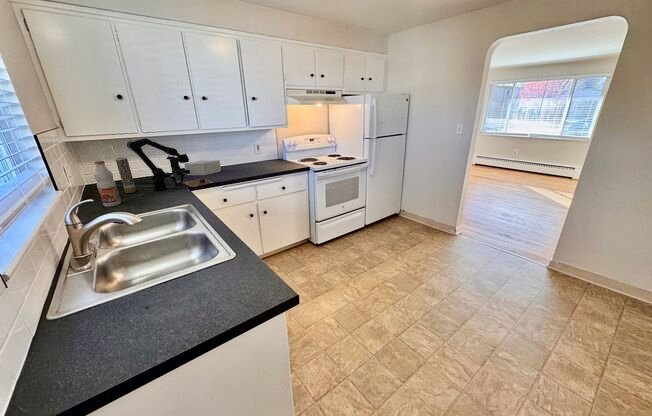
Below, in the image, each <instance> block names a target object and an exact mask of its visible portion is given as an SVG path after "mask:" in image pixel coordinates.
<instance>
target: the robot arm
mask: <svg viewBox="0 0 652 416" xmlns="http://www.w3.org/2000/svg"><path fill="white" fill-rule="evenodd" d="M146 145H147V146H150V147H152V148H155V149H158V150H160V151H162V152H163V153H165V154H166V155H167V157H166V158H165V159H166V160H169V163H170V168H171V172H168V171H166V172H165V171H164V170H163V168H162V167H157V166H156V164H155V163H154V162H153V161H152V160H151V159H150V157H148V156H147V155H146V153H145V151H143V148H142V147H144V146H146ZM126 148H128V149H129V150H130V151H131V152H133V153H134V154H136V155H137V156H138V157H139V158H140V160H141V161H142V162H143V163H144V164H145V165H146V166H147V167H148V168H149V170H150V171H151V173H152V177H151V181H152V182H153V186H154V190H155V191H156V192H158V191H164V190H167V186H166V182H165V179H167V178H171V180H172V181H173V183H174V184H175V185H176V184H177V183H176V181H177V180H176V176H179V179H180V180H179V181H181V182H182V183H183V182H184V177H185V176H187V174H189V173H190V170H188V169H185V167H181V165H180V164H186V163H190V158H189V156H188V155H187V153H181V154H180V153H179V152H178V149H176V148H175V147H170V146H166V145H164V144H161V143H158V142H156V141H153V140H151V139H149V138H146V137H143V138H141V139H140V138H139V139H137V140H129V141H127V142H126ZM175 175H176V176H175Z"/></svg>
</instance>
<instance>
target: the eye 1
mask: <svg viewBox="0 0 652 416" xmlns="http://www.w3.org/2000/svg"><path fill="white" fill-rule="evenodd" d="M176 183H177V184H175V186H176V187H180V186H183V182H181V180H176Z"/></svg>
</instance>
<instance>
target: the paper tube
mask: <svg viewBox="0 0 652 416" xmlns="http://www.w3.org/2000/svg"><path fill="white" fill-rule="evenodd" d="M128 159H129V158H128V157H117V158H115V163H116V165H117V166H116V167H117V170H118V173H119V176H120V179H121V183H122V186H123V190H124V193H125V194H133V193H136V192H137V188H136V185H135V181H134V177H133V174H132V171H131V167H130V163H129V160H128Z"/></svg>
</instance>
